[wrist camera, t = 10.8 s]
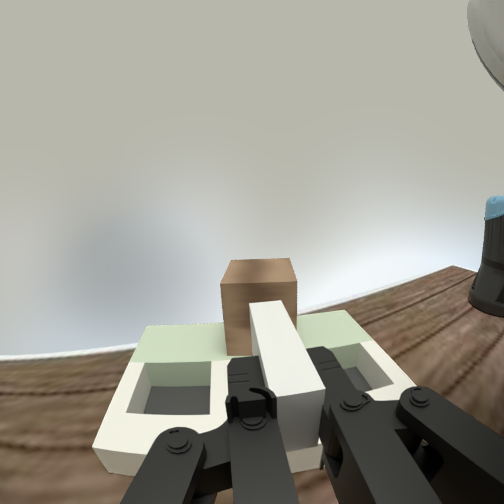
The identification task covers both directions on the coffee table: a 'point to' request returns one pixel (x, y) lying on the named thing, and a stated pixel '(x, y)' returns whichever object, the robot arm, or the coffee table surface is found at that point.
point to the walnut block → (254, 297)
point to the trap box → (221, 384)
